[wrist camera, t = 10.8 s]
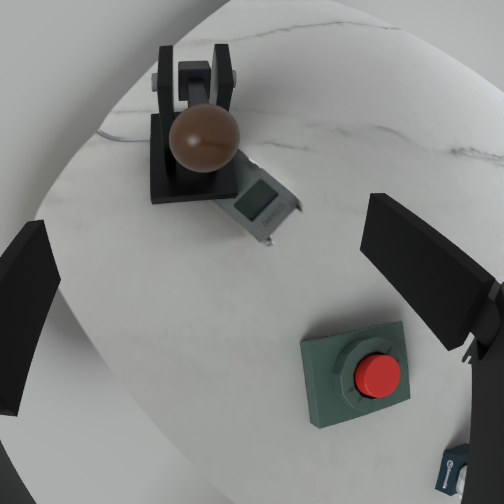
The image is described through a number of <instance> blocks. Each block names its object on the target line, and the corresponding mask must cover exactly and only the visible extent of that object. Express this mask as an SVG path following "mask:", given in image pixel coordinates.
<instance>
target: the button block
mask: <svg viewBox="0 0 504 504" xmlns="http://www.w3.org/2000/svg"><path fill="white" fill-rule="evenodd" d="M300 346H301V353H302V360H303V368H304V375H305V383H306V390H307V398H308V406H309V414H310V423H311V424H313V425H314V426H316V427H317V428H319V429H320V428H323V427H327V426H331V425H334V424H338V423H341V422H344V421H348V420H351V419H354V418H357V417H360V416H363V415H366V414H369V413H372V412H375V411H378V410H381V409H384V408H387V407H389V406H392V405H395V404H397V403H400V402H402V401H405V400H408V399H410V385H409V374H408V364H407V355H406V346H405V338H404V331H403V324H402V321H397V322H389V323H385V324H381V325H377V326H373V327H368V328H364V329H359V330H355V331H350V332H345V333H341V334H336V335H331V336H326V337H320V338H315V339H310V340H304V341H300ZM370 355H388V356H391V357H392V358H394V359H395V360H396V362H397V363H398V365H399V368H400V379H399V382H398V385H397V387H396V388H395V390H394V391H393V392H392V393H391V394H389V395H387V396H385V397H381V398H377V397H373V396H369V395H366V394H363V393H362V392H361V391H360V390H359V389H358V387H357V385H356V382H355V373H356V369H357V367H358V365H359V364H360V362H361V361H362V360H363V359H364V358H366V357H368V356H370Z"/></svg>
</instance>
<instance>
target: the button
mask: <svg viewBox="0 0 504 504" xmlns="http://www.w3.org/2000/svg"><path fill="white" fill-rule="evenodd" d="M399 379H400V368H399V365H398V363H397V362H396V360H395V359H394V358H392V357H391V356H388V355H370V356H368V357H366V358H364V359H363V360H362V361H361V362H360V364H359V365H358V367H357V369H356V373H355V382H356V385H357V387H358V389H359V390H360V391H361V392H362V393H363V394H366V395H369V396H373V397H377V398H381V397H385V396H387V395H389V394H391V393H392V392H393V391H394V390H395V388H396V387H397V385H398V382H399Z"/></svg>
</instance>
